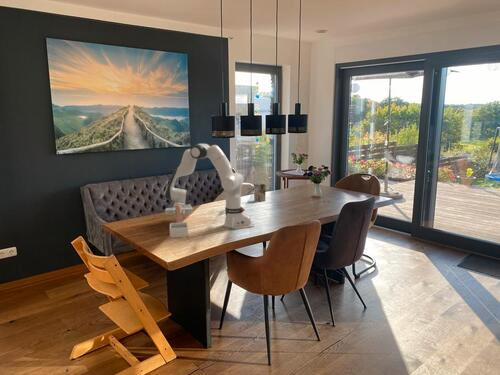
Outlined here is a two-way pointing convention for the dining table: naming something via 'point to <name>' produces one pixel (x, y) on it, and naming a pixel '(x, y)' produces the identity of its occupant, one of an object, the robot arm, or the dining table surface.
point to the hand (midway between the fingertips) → (178, 213)
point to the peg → (178, 214)
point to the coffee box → (259, 192)
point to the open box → (178, 230)
